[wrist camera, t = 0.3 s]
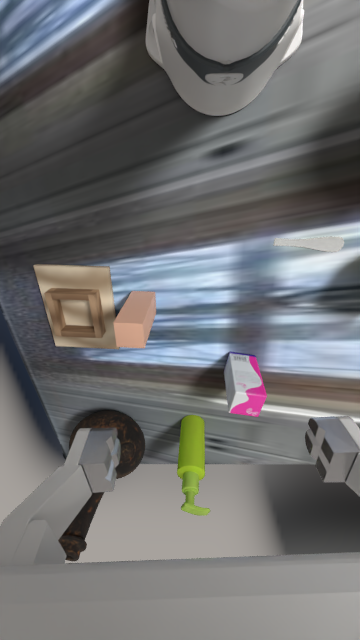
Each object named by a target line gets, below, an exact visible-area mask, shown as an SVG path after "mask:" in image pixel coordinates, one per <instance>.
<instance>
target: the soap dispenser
mask: <svg viewBox="0 0 360 640" xmlns="http://www.w3.org/2000/svg"><path fill="white" fill-rule="evenodd" d="M177 474H178V476H179V477H180V478H181V479H183V482H182V492H183V493H184V494H185V495H186V502H185V503H184V504H183V505H182V506H181V510H183V511H186V512H188V513H191V514H194V515H207V514H208V513H209V512H210V509H209V508H201V507H198V506H195V505H194V496H195V495H196V494H198V491H199V480H201V479H203V478H204V476H205V440H204V420H203V419H202V418H201V417H199V416H196V415H188V416H186V417H184V418H183V419H182V422H181V433H180V445H179V457H178V470H177Z"/></svg>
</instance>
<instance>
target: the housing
mask: <svg viewBox="0 0 360 640" xmlns="http://www.w3.org/2000/svg"><path fill="white" fill-rule="evenodd" d="M34 269H35V273H36V277H37V280H38V284H39V287H40V291H41V295H42V298H43V302H44V305H45V309H46V312H47V316H48V320H49V323H50V327H51V330H52V334H53V338H54V341H55V345H56V346H66V347H86V348H107V349H119V348H120V347H117V345H116V338H115V331H114V324H113V322H114V321H115V319H116V313H115V305H114V297H113V290H112V282H111V275H110V267H109V266H75V265H41V264H36V265H34Z"/></svg>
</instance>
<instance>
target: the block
mask: <svg viewBox="0 0 360 640" xmlns="http://www.w3.org/2000/svg"><path fill="white" fill-rule="evenodd" d="M155 315H156V300H155V292H143V291H132V292H131V293H130V295H129V297H128V298H127V300H126V302H125V304H124V305H123V307H122V309H121V310H120V312H119V314H118V315H117V317H116V319H115V321H114V322H113V324H114V331H115V338H116V345H117V347H131V348H145V345H146V342H147V339H148V336H149V333H150V330H151V327H152V324H153V321H154V318H155Z"/></svg>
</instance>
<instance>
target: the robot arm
mask: <svg viewBox="0 0 360 640" xmlns="http://www.w3.org/2000/svg"><path fill="white" fill-rule="evenodd" d="M303 16H304V10H303V0H149V8H148V19H147V29H146V48H147V52H148V54H149V55H150V57H151V58H152V59H153V60H154V61H155V62H156V63H157V64H159V65H160V66H161V67H162V68H163V69H164V70H165V71H166V72H167V74H168V76H169V78H170V80H171V82H172V84H173V85H174V87H175V89H176V91H177V92H178V94H179V95H180V96H181V98H182V99H183V100H184V101H185V102H186V103H187V104H188V105H189V106H191V107H192V108H193V109H195V110H197V111H199V112H201V113H204V114H207V115H212V116H222V115H228V114H231V113H234V112H236V111H238V110H240V109H242V108H244V107H245V106H247V105H248V104H249V103H250V102H252V101H253V100H254V99H255V98H256V97H257V96H258V94H259V93H260V92H261V91H262V90H263V88H264V87H265V85H266V84H267V82H268V80H269V79H270V77H271V76H272V74H273V73H274V71H275V70H276V69H277V68H278V67H279V66H280V65H282V64H283V63H284V62H285V61H287V60H288V59H289V58H290V57H291V56H292V55H293V54H294V53H295V52H296V51H297V49H298V47H299V45H300V43H301V40H302V27H303ZM308 425H309V427H310V429H308V430H307V431H306V435H305V441H306V446H307V449H308V451H309V453H310V455H311V456H312V457H313V458H315V459H316V460H317V461H316V465H315V466H316V468H317V470H318V472H319V474H320V476H321V478H322V480H323V482H346V484H347V485H348V486H349V487H350V488H351V489H352V490H353V491H355V492H356V493H357V494H358V495H359V496H360V429H359V428H358V426H357V425H356V423H355V422H354V421H353V419H352V418H351V417H349V416H340V417H318V418H311V419H310V420H309V423H308ZM120 453H121V446H120V440H119V439H117V429H116V428H81V429H79V430H78V431H77V433H76V436H75V438H74V441H73V443H72V446H71V448H70V451H69V453H68V456H67V458H66V461H65V464H64V466H60V467H59V468H58V469H57V470H55V471H54V472H53V473H52V474H51V475H50V476H49V477H48V478H47V479H46V480H45V481H44V482H43V483H42V484H41V485H40V486H39V487H38V488H37V489H35V490H34V491H33V493H31V494H30V495H29V496H28V497H27V498H26V499H25V500H24V501H23V502H22V503H21V504H20V505H19V506H18V507H17V508H15V510H13V511H12V512H11V513H10V514H9V515H8V516H7V517H6V518H5V519H4V520H3V522H2V524H1V526H0V640H360V552H356V553H331V554H303V555H276V556H252V557H251V556H250V557H223V558H199V559H198V558H197V559H173V560H172V559H171V560H145V561H119V562H92V563H68V564H64V563H65V560H66V553H65V551H64V550H63V548H62V546H61V545H60V543H59V541H58V540H59V538H60V537H61V536H62V534H63V533H64V532H65V530H66V529H67V528H68V526H69V525H70V524H71V522H72V521H73V520H74V518H75V517H76V516H77V514H78V513H79V511H80V510H81V509H82V507H83V506H84V505H85V503H86V502H87V501H88V499H89V498H90V497H91V495H92V493H96V492H110V491H113V490H114V485H115V481H116V476H117V473H116V470H115V468H116V466H117V465H118V464H119V461H120Z"/></svg>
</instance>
